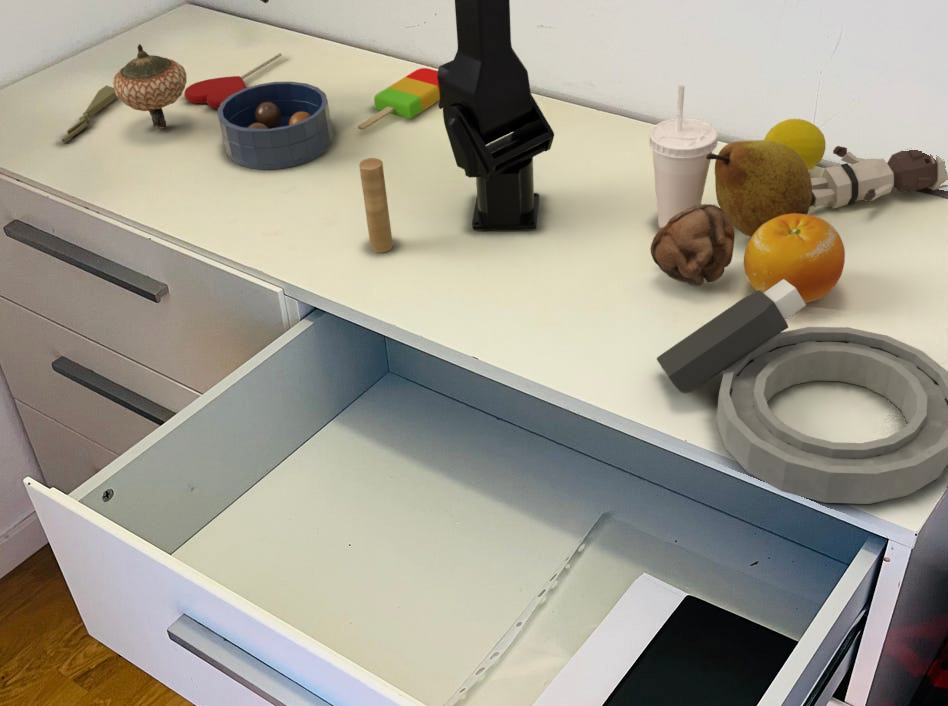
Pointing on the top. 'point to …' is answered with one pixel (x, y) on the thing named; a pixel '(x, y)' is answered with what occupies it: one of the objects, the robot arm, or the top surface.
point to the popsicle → (406, 96)
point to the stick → (376, 204)
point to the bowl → (284, 140)
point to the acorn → (150, 84)
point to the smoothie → (680, 161)
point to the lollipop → (219, 87)
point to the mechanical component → (829, 463)
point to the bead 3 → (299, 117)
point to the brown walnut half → (695, 245)
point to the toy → (876, 177)
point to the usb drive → (730, 336)
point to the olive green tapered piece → (92, 110)
